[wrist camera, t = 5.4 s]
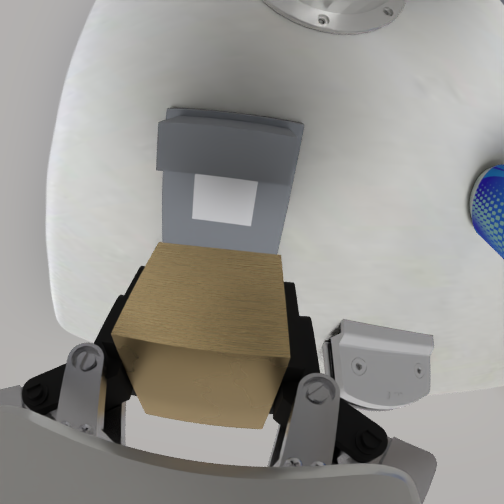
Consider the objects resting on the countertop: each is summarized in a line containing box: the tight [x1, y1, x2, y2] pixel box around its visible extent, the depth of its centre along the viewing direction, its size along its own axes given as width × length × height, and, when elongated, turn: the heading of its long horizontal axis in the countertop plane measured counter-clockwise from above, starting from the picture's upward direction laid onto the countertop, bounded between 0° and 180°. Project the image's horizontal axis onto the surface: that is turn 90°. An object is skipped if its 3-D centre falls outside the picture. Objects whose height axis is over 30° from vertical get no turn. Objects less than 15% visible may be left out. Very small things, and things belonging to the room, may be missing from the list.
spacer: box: [111, 242, 290, 429], centre depth 10 cm, size 5×4×4 cm
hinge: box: [322, 319, 434, 411], centre depth 29 cm, size 17×5×10 cm, turn 73°
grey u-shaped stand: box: [156, 108, 304, 255], centre depth 22 cm, size 22×10×6 cm, turn 172°
